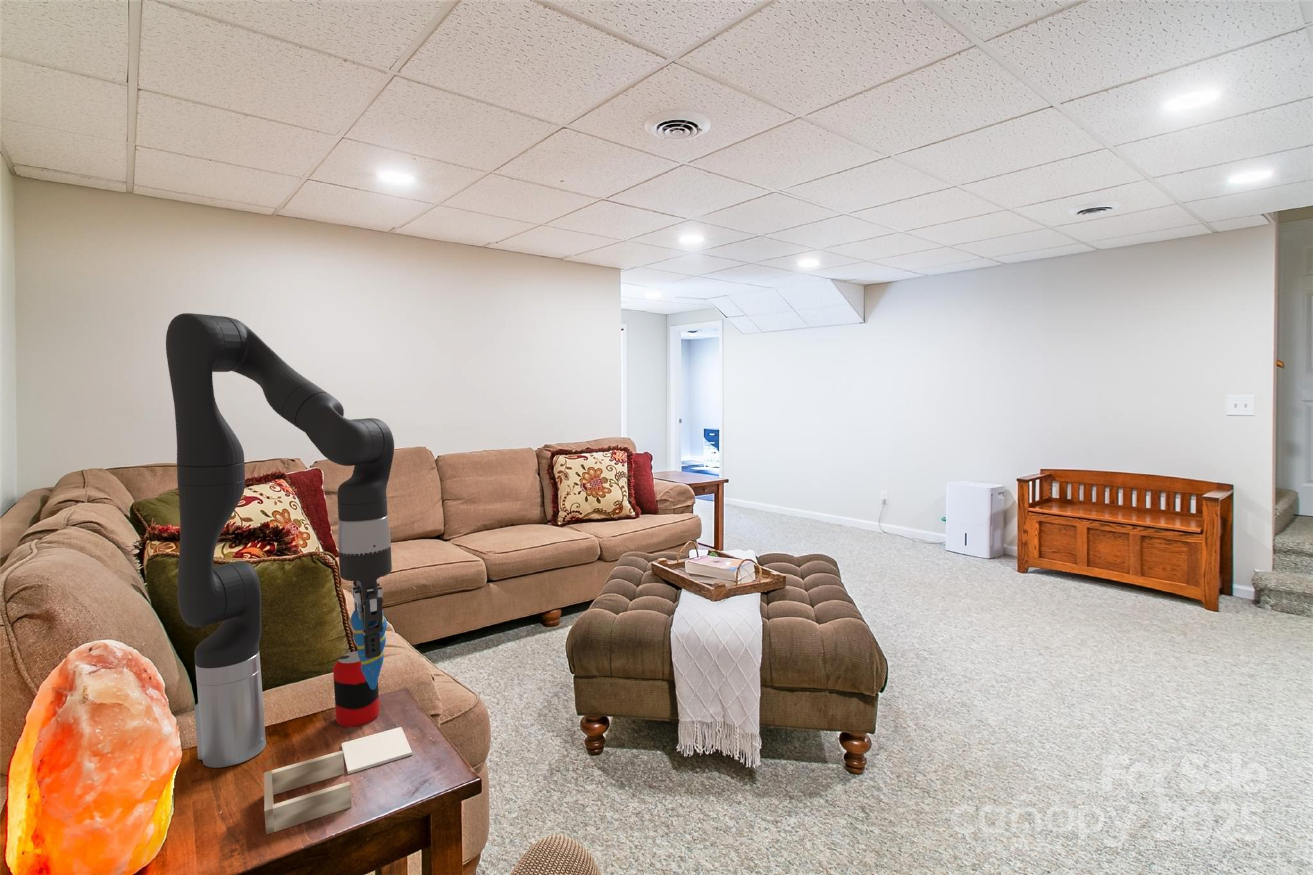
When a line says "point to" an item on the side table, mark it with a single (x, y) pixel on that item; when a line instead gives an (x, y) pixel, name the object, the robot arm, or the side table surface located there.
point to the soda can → (353, 693)
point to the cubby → (310, 803)
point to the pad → (375, 750)
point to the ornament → (370, 665)
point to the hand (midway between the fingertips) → (370, 650)
